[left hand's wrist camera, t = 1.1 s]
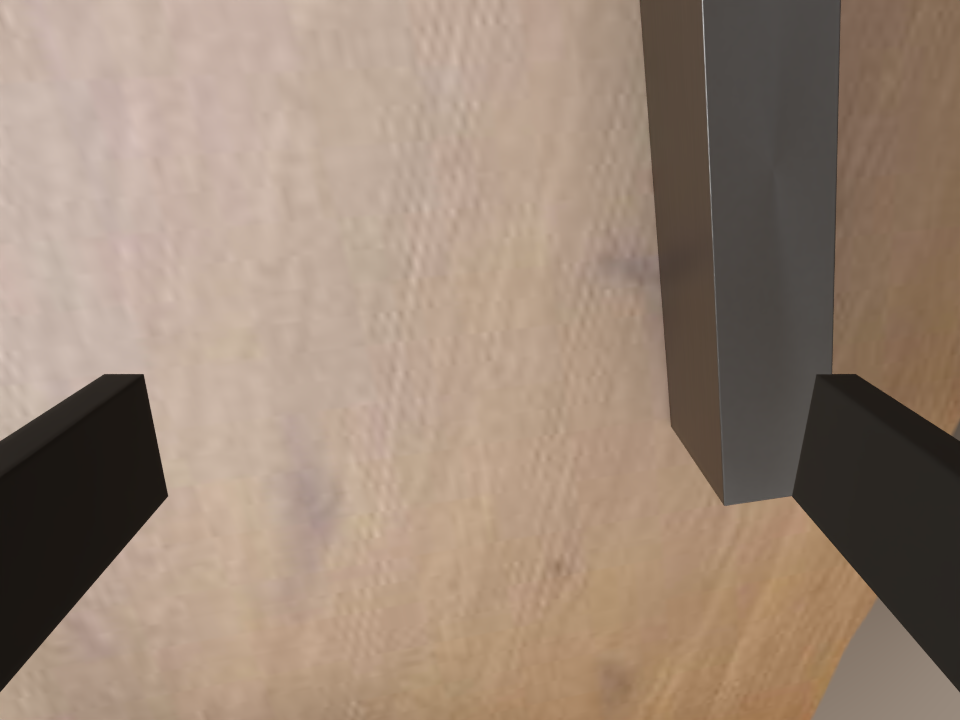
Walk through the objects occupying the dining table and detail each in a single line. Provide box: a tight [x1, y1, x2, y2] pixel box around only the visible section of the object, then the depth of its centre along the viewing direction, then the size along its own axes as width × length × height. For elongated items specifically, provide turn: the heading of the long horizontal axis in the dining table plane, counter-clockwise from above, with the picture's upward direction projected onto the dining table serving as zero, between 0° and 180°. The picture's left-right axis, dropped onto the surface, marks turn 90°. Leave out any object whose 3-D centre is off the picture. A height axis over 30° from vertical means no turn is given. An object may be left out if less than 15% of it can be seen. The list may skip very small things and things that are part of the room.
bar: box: [640, 0, 841, 506], centre depth 27 cm, size 29×5×8 cm, turn 10°
